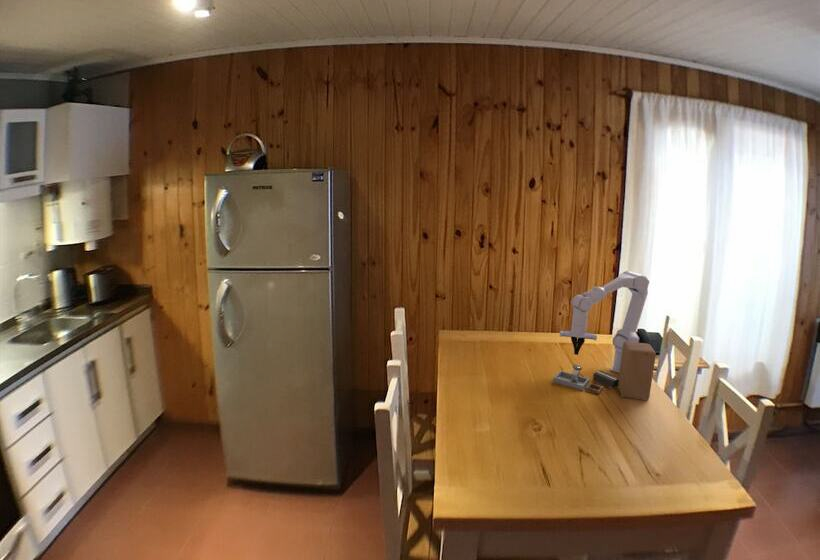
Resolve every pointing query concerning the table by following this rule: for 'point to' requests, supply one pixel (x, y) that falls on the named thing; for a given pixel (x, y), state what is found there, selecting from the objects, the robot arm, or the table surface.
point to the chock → (606, 379)
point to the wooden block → (636, 370)
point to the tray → (565, 380)
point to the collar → (594, 389)
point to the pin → (575, 373)
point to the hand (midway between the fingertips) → (576, 353)
